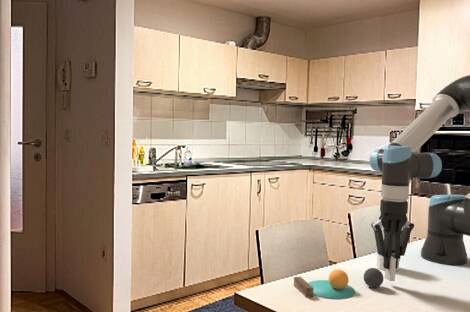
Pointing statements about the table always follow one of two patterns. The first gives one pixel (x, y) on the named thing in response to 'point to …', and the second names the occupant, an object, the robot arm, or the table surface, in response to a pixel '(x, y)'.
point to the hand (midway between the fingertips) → (389, 279)
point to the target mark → (330, 290)
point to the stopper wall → (303, 286)
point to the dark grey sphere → (373, 277)
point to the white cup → (381, 260)
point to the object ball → (338, 279)
